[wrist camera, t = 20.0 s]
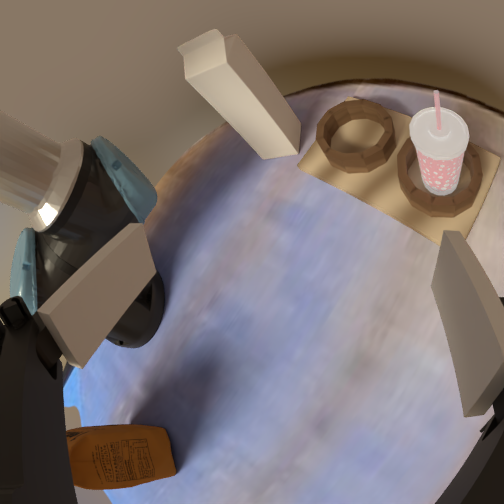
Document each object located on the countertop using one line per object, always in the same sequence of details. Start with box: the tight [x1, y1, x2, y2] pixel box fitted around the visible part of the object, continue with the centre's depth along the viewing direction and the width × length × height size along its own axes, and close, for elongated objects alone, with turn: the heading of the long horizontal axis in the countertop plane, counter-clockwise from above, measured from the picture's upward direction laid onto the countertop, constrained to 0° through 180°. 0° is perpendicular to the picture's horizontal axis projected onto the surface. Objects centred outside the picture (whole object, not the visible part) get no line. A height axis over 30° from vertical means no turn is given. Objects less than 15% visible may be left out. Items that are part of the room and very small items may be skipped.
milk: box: [177, 29, 301, 160], centre depth 37 cm, size 6×6×22 cm
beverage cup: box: [409, 90, 469, 196], centre depth 25 cm, size 6×6×14 cm
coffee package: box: [66, 424, 176, 490], centre depth 31 cm, size 10×12×22 cm
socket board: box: [297, 96, 501, 246], centre depth 33 cm, size 24×14×4 cm, turn 49°
